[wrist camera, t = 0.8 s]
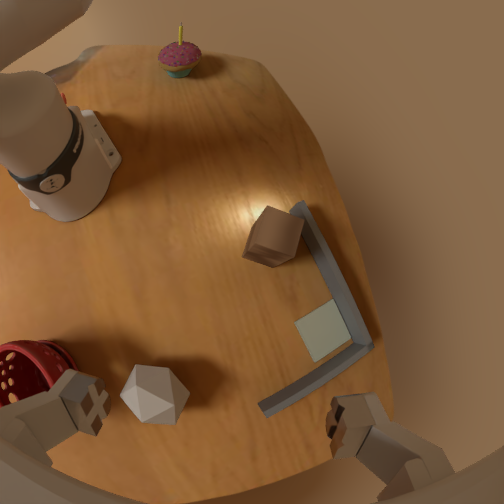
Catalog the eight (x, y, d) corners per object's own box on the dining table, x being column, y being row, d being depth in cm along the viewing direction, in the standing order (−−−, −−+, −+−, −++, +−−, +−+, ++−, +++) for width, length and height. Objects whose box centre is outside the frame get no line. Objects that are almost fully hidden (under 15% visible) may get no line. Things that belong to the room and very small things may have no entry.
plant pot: (42, 411, 30) (7, 435, 19) (19, 339, 32) (-23, 346, 20) (101, 409, 33) (74, 439, 22) (76, 330, 35) (38, 337, 23)
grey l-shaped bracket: (181, 260, 40) (179, 256, 36) (295, 208, 45) (303, 200, 41) (260, 408, 38) (266, 418, 34) (361, 344, 43) (374, 347, 39)
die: (129, 354, 37) (99, 401, 28) (173, 344, 34) (145, 400, 25) (161, 391, 39) (139, 438, 30) (206, 385, 37) (188, 440, 28)
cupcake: (161, 60, 46) (159, 19, 35) (200, 58, 48) (204, 16, 36) (158, 86, 45) (154, 41, 33) (200, 83, 47) (204, 38, 35)
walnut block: (241, 257, 42) (255, 243, 32) (251, 227, 43) (267, 205, 34) (272, 267, 43) (294, 257, 33) (281, 237, 44) (304, 219, 34)
